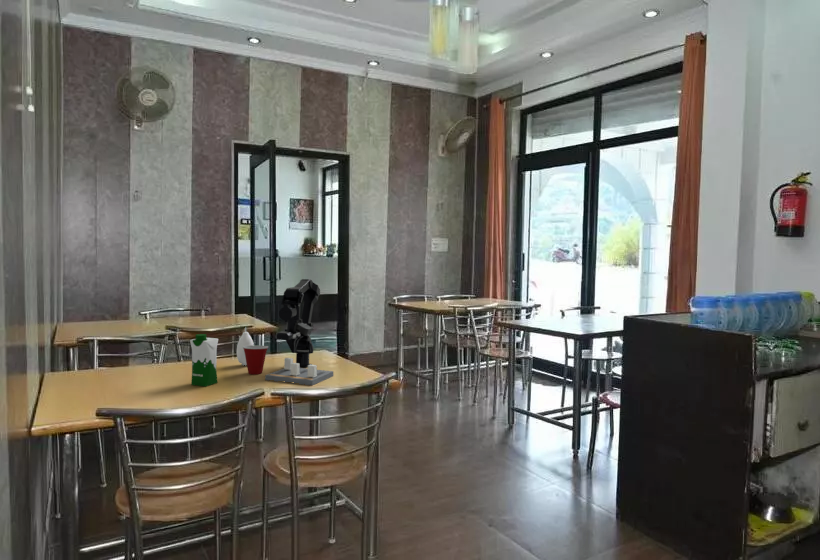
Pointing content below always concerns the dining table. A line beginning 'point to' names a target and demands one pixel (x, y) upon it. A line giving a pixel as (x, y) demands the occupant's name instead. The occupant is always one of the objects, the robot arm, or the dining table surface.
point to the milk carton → (204, 360)
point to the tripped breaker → (288, 363)
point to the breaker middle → (295, 369)
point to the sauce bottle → (243, 341)
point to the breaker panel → (299, 376)
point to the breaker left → (312, 371)
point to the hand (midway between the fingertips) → (293, 352)
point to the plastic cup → (255, 358)
